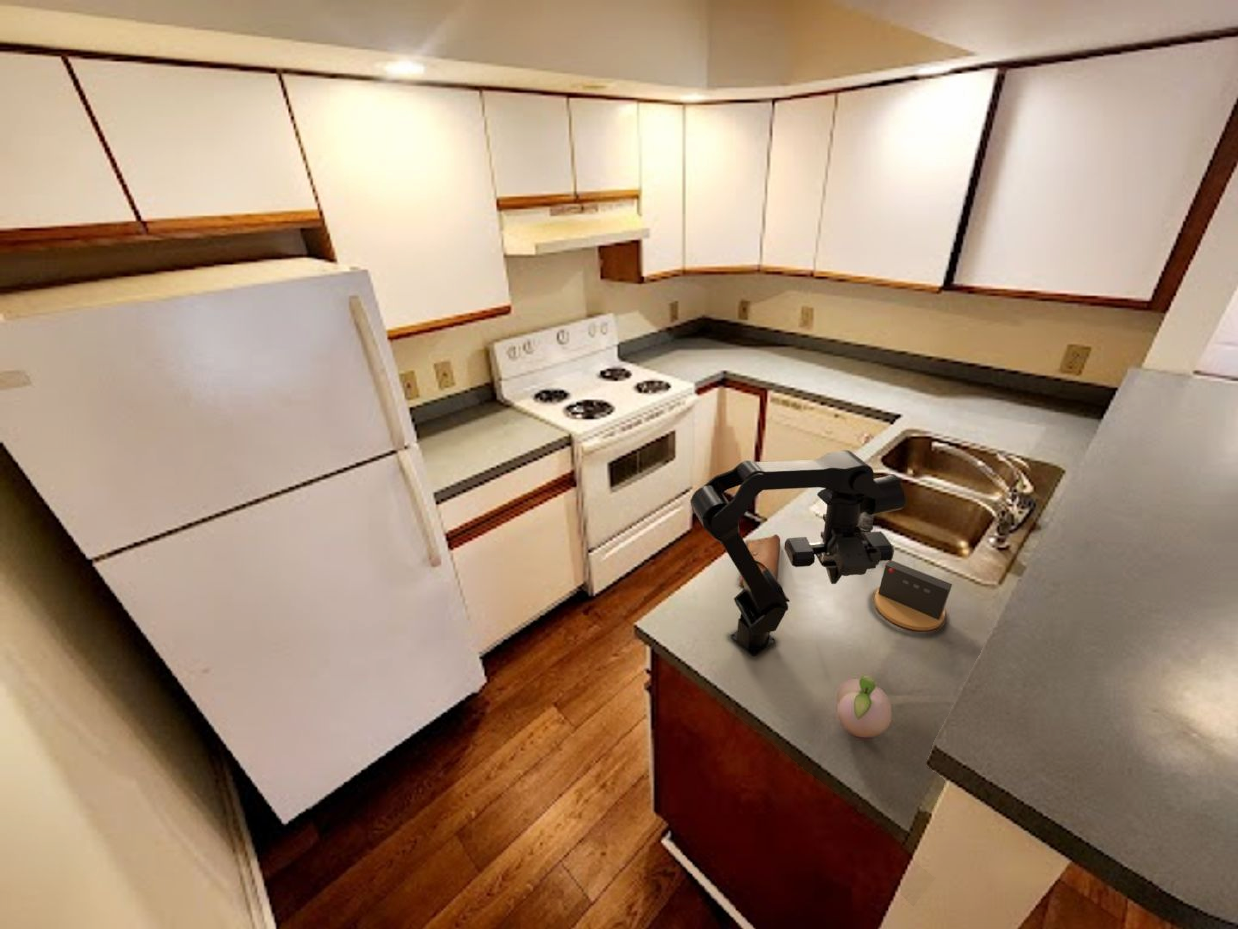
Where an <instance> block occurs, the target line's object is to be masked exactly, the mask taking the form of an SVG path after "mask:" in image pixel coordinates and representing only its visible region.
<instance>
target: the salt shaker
mask: <svg viewBox="0 0 1238 929" xmlns="http://www.w3.org/2000/svg"><path fill="white" fill-rule="evenodd" d="M874 517H875V516H874V515H868V514H867V513H865V512H861V514H860V520H859V527H860V529H861V533H865V532H872V531H873V530H874V526H873V523H874Z"/></svg>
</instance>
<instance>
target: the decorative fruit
mask: <svg viewBox="0 0 1238 929" xmlns="http://www.w3.org/2000/svg"><path fill="white" fill-rule="evenodd" d="M837 703H838V704H837V708H836V713H837V717H838V719H839V722H840V723H841V725H842V726H843V728H844V729H845V730H846V731H847V732H848V733H850V734H851V735H853V736H855V737H858V738H873V737H876V736H879V735H881V734H883V733H884V732H885V731H886V730H887V729H888V727H889V726H890V724H891V721H892V707H891V702H890V699H889V697H888V696H887V695H886V693H885V692H884V691H883V690H882V689H881V688H880V687H879V686H877V685H876V683H875V681H874V680H873V678H871V677H870V676H869V675H863V676H862V677H860V678H849V679H846V680H845V681H844V682H842V683H841V685H840V686H839V687H838V691H837Z"/></svg>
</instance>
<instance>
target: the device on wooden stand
mask: <svg viewBox="0 0 1238 929" xmlns="http://www.w3.org/2000/svg"><path fill="white" fill-rule="evenodd" d="M952 587H953V583H950V582H948V581H946V580H943V579H940V578H937V577H936V576H933V575H930V574H927V573H925V572H922V571H920V570H918V569H915V568H912V567H909V566H907V565H904V564H902V563H900V562H897V561H894V560H893V559H892V560H887V562H886V564H885V565H884V570H883V573H882V576H881V581H880V585H879V587H878V588H877V589H876V590H877V591H876V590H875V591H876V594H875V598H874V601H875V605H876V607H877V609H878V610H879V611H880V613H881V614H882V615H883V616H885V617H886V618H887V619H888V620H890V621H892V622H893V623H895V624H897V625H899V626H902V627H905V628H908V629H912V630H931V629H934V628H937V627H938V626H940V625H941V624H942V622H943V620H944V617H945V615H946V610H945V607H946V605H947V601H948V599H949V596H950V592H951V589H952Z"/></svg>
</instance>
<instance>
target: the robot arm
mask: <svg viewBox="0 0 1238 929" xmlns="http://www.w3.org/2000/svg"><path fill="white" fill-rule="evenodd" d="M874 475H875V473H874V469H873V468H872V466H871V465H869V464H868V463H867V462H865V461H864V460H863V459H861V458H860V457H859V456H857V454H855V453H853V452H852V451H850V450H849V449H848V450H847V449H842V450H837V451H832V452H828V453H825V454H824V455H823V456H821V457H819V458H815V459H803V460H802V459H801V460H800V459H799V460H798V459H797V460H774V461H754V460H744V461H742V462H740V463H739V464H737V465H736V466H735V467H734V468H732V469H731V470H727V471H725V472H722V473H720V474H717V475H715V476H714V477H712V478H711V479H710V480H709V481H708V482H706V483H705V484H704V485H703V486H702V487H699V488H698V489H697V490H696V491H694V493H693V494H692V495H691V498H690V500H689V501H690V502H689V503H690V506H691V508H692V510H693V512H694V513H695V515H696V517H698V520H699V522H700V523H701V525H702V526H703V528H704V529H705V531H706V532H707V533H708V534H709V535H710V536H711V537H712V538H713V539H714V540H715V541H717V542H719V543H720V544H721V545H722V546H723V548H724V550H725V551H726V554H728V556H729V558H730V559H731V561H732V563H733V564H734V566H735V568H736V569H737V571H738V573H739V574H740V577H741V576H742V577H743V580H744V582H743V585H744V586H743V590H741V591H740V592H739V593H738V594H737V595H735V597H733V602H734V603H735V605H736V607H737V608H738V610H739V612H740V617H739V618H738V620H737V630H736V631H734V632H733V633H731V634H730V639H732V640H733V641H734V642H735V643H736V644H738V646H740V647H741V648H742V649H743V650H745V652H747V654H749V655H750V656H751V657H756V656H758V655H760V654H761V653H762V652H764V651H765V650H766V649H768V648H770V647H771V646H772V645H774V644H775V643H776V639H775V638H774V637H773V636H772V635H771V632H775V631H777V629H778V628H779V625H780V624H781V622H782V620H783V618H784V616H785V614H786V612H787V611H788V610H789V605H788V603H789V602H790V599H789V597H788V595H787V594H786V593H785V591H784V589H783V586H782V585H781V583H779V581H778V579H777V580H776V578H775V577H774V575H773V574H772V572H771V571H770V570H769V568H767V569H766V570H765V571H763V572H762V571H761V570H760V568H759V566H758V565H757V563H756V561H755V559H754V558H753V556H752V554H751V552H750V551H749V549H748V547H747V543H746V542H745V541H744V539H743V537H742V536H741V533H740V524H739V519H740V518H742V517H743V516H744V515H745V514H746V513H747V511H748V510H749V508H750V507H751V505H752V503H753V501H754V499H755V497H756V496H758V495H759V494H760V493H761V492H763V491H774V490H775V491H776V490H777V491H778V490H793V489H813V488H820V489H821V490H820V491H819V492H817V493H816V496H817V497H818V498H819V499H820V500H821V501H822V502H823V503H824V504H825V505H826V512H825V513H822V514H823V515H822V520H823V521H824V526H823V531H821V532H820V538H821V539H822V541H821V542H810V541H809V539H808V538H807V536H801V537H800V536H799V537H788V538H787V539H785V541H784V547H783V548H784V551H785V554H786V555H787V557H788V560H789V562H790V564H791V566H792V567H794V568H805V567H810V566H812V565H814V563H815V560H816V558H817V560H818V562H819V564H820V565H821V566H822V567H823V568H825V570H826V573H827V576H828V579H829V582H830V584H831V585H836V584H837V583H838V582H839V580H840V579H841V578H842V577H849V576H858V575H859V576H862V575H865V574H866V572H867V571H868V570H873V569H876V568H877V566H879V564H880V562H882V561H884V562H885V561H889V560H892V561H893V559H894V555H895V548H894V546H893V544H892V543H891V542H890V540H889V539H888V538H887V537H886V535H885V534H884V533H883V532H882V531H879V530H878V531H871V532H865V533H861V529H860V527H859V521H860V517H861V514H862V511H864V512H865V513H867V514H868V515H873V516H874V515H879V514H884V513H891V512H894V511H900V510H902V509H903V508H905V505H906V503H907V499H906V495H905V494H906V493H905V490H904V488H903V487H902V485H901V483H902V479H901V478H899V476H897V475H896V474H894V473H893V474H888V475H886V476H882V477H876V478H874ZM736 487H738V489H737V491H736V493H735V495H734V496H733V498H732V499H731V500H730V501H729V500H728V499H727V498H726V497H725V494H724V493H725V492H726V491H727V490H731V489H733V488H736ZM864 512H863V513H864Z"/></svg>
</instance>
